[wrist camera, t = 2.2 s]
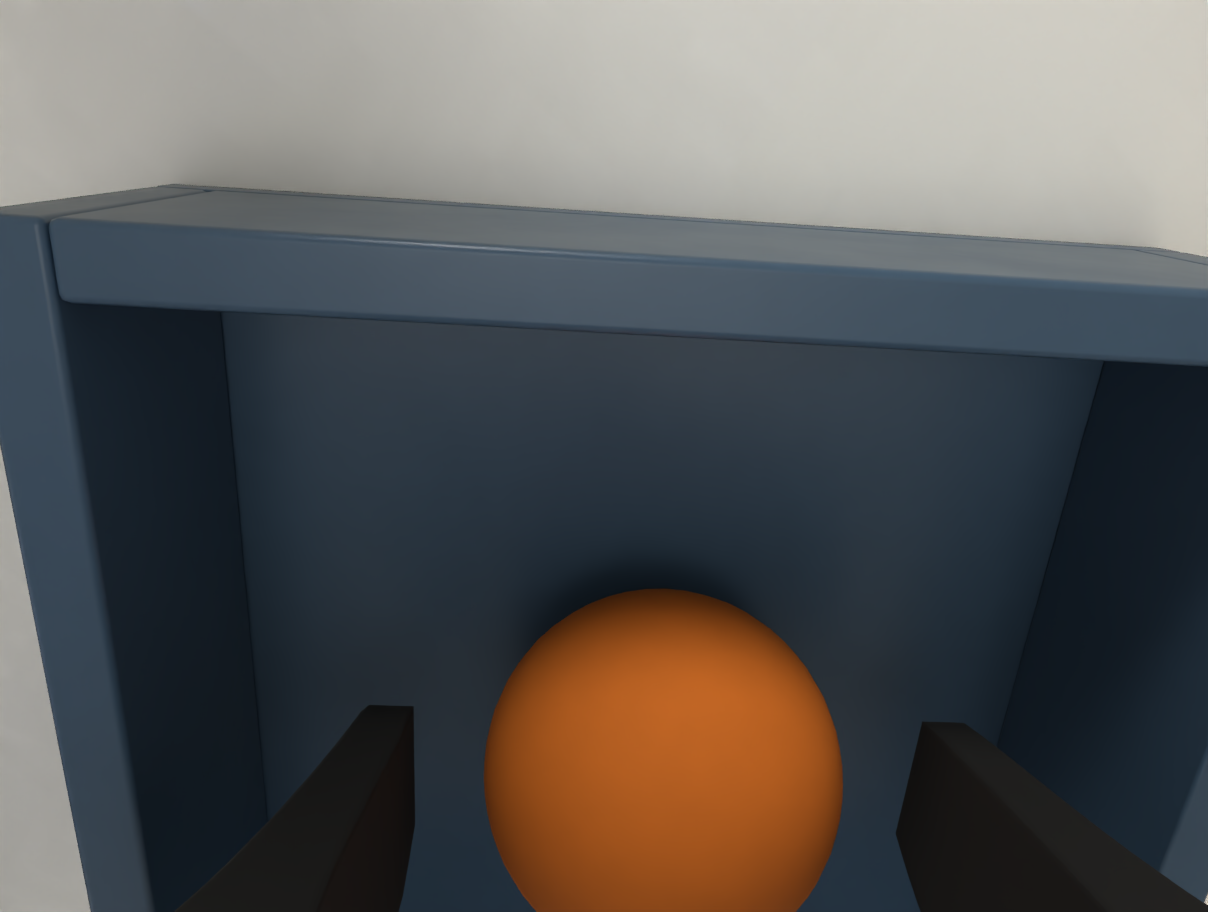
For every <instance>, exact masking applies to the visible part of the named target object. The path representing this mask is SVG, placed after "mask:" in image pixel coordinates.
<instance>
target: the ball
mask: <svg viewBox="0 0 1208 912" xmlns="http://www.w3.org/2000/svg"><path fill="white" fill-rule="evenodd" d="M484 791H485V801H486V807H487V814H488V818H489V823H490V827H491V831H492V834H493V837H494V840H495V843H496V846H497V848H498V851H499V853H500V856H501V858H502V861H503V863H504V865H505V867H506V869H507V870H508V872H509V874H510V875H511V877H512V879H513V880H514V882H515V884H516V885H517V887H518V889H519V890H520V892H521V894H522V895H523V896H524V898H525V899H526V900H527V901H528V902H529V904H530V905H531V906H532V907H533V908H534V909H535V910H536V912H796V911H797V910H798V909H799V907H800V906H801V905H802V904H803V903H804V901H805V900H806V899H807V898H808V896H809V895H810V893H811V892H812V890H813V889H814V887H815V885H816V884H817V882H818V880H819V878H820V876H821V874H822V872H823V870H824V868H825V865H826V863H827V861H828V859H829V857H830V855H831V852H832V848H833V845H834V841H835V838H836V834H837V830H838V826H839V822H840V816H841V808H842V797H843V771H842V760H841V754H840V747H839V743H838V738H837V733H836V729H835V726H834V723H833V720H832V718H831V715H830V712H829V710H828V707H827V704H826V702H825V699H824V697H823V695H822V693H821V692H820V690H819V688H818V686H817V685H816V683H815V681H814V680H813V678H812V676H811V674H810V673H809V671H808V669H807V668H806V666H805V665H804V664H803V663H802V661H801V660H800V659H799V658H798V656H797V655H796V654H795V653H794V652H793V650H792V649H791V648H790V647H789V646H788V645H787V644H786V643H785V642H784V641H783V640H782V639H781V638H780V637H779V636H778V635H777V634H776V633H774V632H773V631H772V630H771V629H770V628H769V627H767V626H766V625H764V624H763V623H761V622H760V621H758V620H757V619H755V618H754V617H752V616H751V615H749V614H748V613H747V612H745V611H743V610H741V609H739V608H737V607H735V606H733V605H731V604H729V603H727V602H724V601H721V600H718V599H715V598H713V597H710V596H706V595H703V594H698V593H694V592H689V591H685V590H675V589H642V590H635V591H627V592H623V593H619V594H615V595H612V596H608V597H605V598H603V599H600V600H597V601H595V602H592V603H590V604H588V605H586V606H584V607H582V608H580V609H578V610H577V611H575V612H573V613H571V614H570V615H568V616H567V617H566V618H564V619H563V620H561V621H560V622H558V623H557V624H555V625H554V626H553V627H551V628H550V629H549V630H548V631H547V632H546V633H545V634H544V635H543V636H541V637H540V638H539V639H538V640H537V641H536V642H535V644H534V645H533V646H532V647H531V648H530V650H529V651H528V652H527V653H526V654H525V656H524V657H523V658H522V659H521V661H520V662H519V663H518V665H517V666H516V668H515V669H514V671H513V673H512V674H511V676H510V677H509V679H508V681H507V683H506V685H505V687H504V690H503V692H502V694H501V696H500V698H499V701H498V703H497V705H496V708H495V710H494V714H493V717H492V721H491V725H490V729H489V733H488V737H487V742H486V750H485V760H484Z"/></svg>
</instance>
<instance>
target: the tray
mask: <svg viewBox="0 0 1208 912" xmlns="http://www.w3.org/2000/svg"><path fill="white" fill-rule="evenodd" d="M0 445H1V450H2V456H3V461H4V466H5V471H6V476H7V481H8V486H9V492H10V497H11V502H12V507H13V512H14V517H15V523H16V528H17V533H18V538H19V543H20V548H21V554H22V559H23V564H24V569H25V574H26V579H27V584H28V590H29V595H30V600H31V605H32V610H33V615H34V621H35V626H36V631H37V636H38V641H39V646H40V652H41V657H42V662H43V667H44V672H45V677H46V683H47V688H48V693H49V698H50V703H51V708H52V713H53V719H54V724H55V729H56V734H57V739H58V744H59V750H60V755H61V760H62V765H63V770H64V775H65V781H66V786H67V791H68V796H69V801H70V806H71V811H72V817H73V822H74V827H75V832H76V837H77V842H78V848H79V853H80V858H81V863H82V868H83V873H84V879H85V884H86V889H87V894H88V899H89V904H90V910H91V912H174V911H175V910H176V909H177V908H179V907H180V906H181V905H182V904H183V903H184V902H186V901H187V900H188V899H189V898H190V897H191V896H192V895H193V894H195V893H196V892H197V891H198V890H199V889H200V888H201V887H202V886H203V885H204V884H206V883H207V882H208V881H209V880H210V879H211V878H212V877H213V876H214V875H215V874H216V873H217V872H218V871H219V870H220V869H222V868H223V867H224V866H225V865H226V864H227V863H228V862H229V861H230V860H231V859H232V858H233V857H234V856H235V855H236V854H237V853H238V852H239V851H240V850H241V849H242V848H243V847H244V846H245V845H246V844H247V843H248V842H249V841H250V839H251V838H252V837H253V836H254V835H255V834H256V833H257V832H258V831H259V830H260V829H261V828H262V827H263V826H264V825H265V824H266V823H267V822H268V821H269V820H270V819H271V818H272V817H273V816H274V815H275V814H276V813H277V812H278V811H279V809H280V808H281V807H282V806H283V805H284V804H285V803H286V802H287V800H288V799H289V798H290V797H291V796H292V795H293V794H294V793H295V791H296V790H297V789H298V788H299V787H300V786H301V785H302V784H303V782H304V781H305V780H306V779H307V778H308V777H309V776H310V775H311V773H312V772H313V771H314V770H315V769H316V767H317V766H318V765H319V764H320V763H321V761H322V760H323V759H324V758H325V757H326V755H327V754H328V753H329V752H330V751H331V749H332V748H333V747H334V746H335V744H336V743H337V742H338V741H339V739H340V738H341V737H342V736H343V734H344V733H345V732H346V730H347V729H348V728H349V727H350V725H351V724H352V723H353V721H354V720H355V719H356V717H357V716H358V715H359V713H360V712H361V711H362V710H363V709H365V708H366V707H367V706H368V705H389V706H414V771H415V828H414V834H413V840H412V846H411V852H410V858H409V864H408V870H407V876H406V881H405V887H404V893H403V898H402V901H401V905H400V908H399V912H536V910H535V909H534V908H533V907H532V906H531V905H530V904H529V902H528V901H527V900H526V899H525V898H524V896H523V895H522V894H521V892H520V890H519V889H518V887H517V885H516V884H515V882H514V880H513V879H512V877H511V875H510V874H509V872H508V870H507V869H506V867H505V865H504V863H503V861H502V858H501V856H500V853H499V851H498V848H497V846H496V843H495V840H494V837H493V834H492V831H491V827H490V823H489V818H488V814H487V807H486V801H485V791H484V760H485V750H486V742H487V737H488V733H489V729H490V725H491V721H492V717H493V714H494V710H495V708H496V705H497V703H498V701H499V698H500V696H501V694H502V692H503V690H504V687H505V685H506V683H507V681H508V679H509V677H510V676H511V674H512V673H513V671H514V669H515V668H516V666H517V665H518V663H519V662H520V661H521V659H522V658H523V657H524V656H525V654H526V653H527V652H528V651H529V650H530V648H531V647H532V646H533V645H534V644H535V642H536V641H537V640H538V639H539V638H540V637H541V636H543V635H544V634H545V633H546V632H547V631H548V630H549V629H550V628H551V627H553V626H554V625H555V624H557V623H558V622H560V621H561V620H563V619H564V618H566V617H567V616H568V615H570V614H571V613H573V612H575V611H577V610H578V609H580V608H582V607H584V606H586V605H588V604H590V603H592V602H595V601H597V600H600V599H603V598H605V597H608V596H612V595H615V594H619V593H623V592H627V591H635V590H642V589H675V590H685V591H689V592H694V593H698V594H703V595H706V596H710V597H713V598H715V599H718V600H721V601H724V602H727V603H729V604H731V605H733V606H735V607H737V608H739V609H741V610H743V611H745V612H747V613H748V614H749V615H751V616H752V617H754V618H755V619H757V620H758V621H760V622H761V623H763V624H764V625H766V626H767V627H769V628H770V629H771V630H772V631H773V632H774V633H776V634H777V635H778V636H779V637H780V638H781V639H782V640H783V641H784V642H785V643H786V644H787V645H788V646H789V647H790V648H791V649H792V650H793V652H794V653H795V654H796V655H797V656H798V658H799V659H800V660H801V661H802V663H803V664H804V665H805V666H806V668H807V669H808V671H809V673H810V674H811V676H812V678H813V680H814V681H815V683H816V685H817V686H818V688H819V690H820V692H821V693H822V695H823V697H824V699H825V702H826V704H827V707H828V710H829V712H830V715H831V718H832V720H833V723H834V726H835V729H836V733H837V738H838V743H839V747H840V754H841V760H842V771H843V797H842V808H841V816H840V822H839V826H838V830H837V834H836V838H835V841H834V845H833V848H832V852H831V855H830V857H829V859H828V861H827V863H826V865H825V868H824V870H823V872H822V874H821V876H820V878H819V880H818V882H817V884H816V885H815V887H814V889H813V890H812V892H811V893H810V895H809V896H808V898H807V899H806V900H805V901H804V903H803V904H802V905H801V906H800V907H799V909H798V910H797V911H796V912H921V911H920V908H919V906H918V903H917V900H916V897H915V894H914V891H913V888H912V885H911V882H910V879H909V876H908V873H907V870H906V867H905V864H904V860H903V857H902V854H901V850H900V847H899V843H898V840H897V837H896V829H897V825H898V821H899V817H900V813H901V808H902V804H903V800H904V796H905V792H906V787H907V783H908V779H909V775H910V771H911V767H912V762H913V758H914V754H915V750H916V746H917V741H918V737H919V733H920V729H921V725H922V721H923V722H956V723H965V724H966V725H968V726H969V727H971V728H972V729H973V730H975V731H976V732H978V733H979V734H980V735H982V736H983V737H984V738H986V739H987V740H988V741H989V742H991V743H992V744H993V745H995V746H996V747H997V748H998V749H1000V750H1001V751H1002V752H1003V753H1005V754H1006V755H1007V756H1009V757H1010V758H1011V759H1012V760H1014V761H1015V762H1016V763H1017V764H1019V765H1020V766H1021V767H1022V768H1024V769H1025V770H1026V771H1027V772H1029V773H1030V774H1031V775H1032V776H1034V777H1035V778H1036V779H1037V780H1039V781H1040V782H1041V783H1042V784H1044V785H1045V786H1046V787H1047V788H1049V789H1050V790H1051V791H1052V792H1054V793H1055V794H1056V795H1057V796H1059V797H1060V798H1061V799H1062V800H1064V801H1065V802H1066V803H1068V804H1069V805H1070V806H1071V807H1073V808H1074V809H1075V810H1077V811H1078V812H1079V813H1080V814H1082V815H1083V816H1084V817H1085V818H1087V819H1088V820H1089V821H1091V822H1092V823H1093V824H1095V825H1096V826H1097V827H1099V828H1100V829H1101V830H1102V831H1104V832H1105V833H1106V834H1108V835H1109V836H1110V837H1112V838H1113V839H1114V840H1116V841H1117V842H1118V843H1120V844H1121V845H1122V846H1124V847H1125V848H1126V849H1128V850H1129V851H1130V852H1132V853H1133V854H1135V855H1136V856H1137V857H1139V858H1140V859H1142V860H1143V861H1144V862H1146V863H1147V864H1149V865H1150V866H1151V867H1153V868H1154V869H1156V870H1157V871H1158V872H1160V873H1161V874H1163V875H1164V876H1165V877H1167V878H1168V879H1170V880H1171V881H1172V882H1174V883H1175V884H1177V885H1178V886H1180V887H1181V888H1182V889H1184V890H1185V891H1187V892H1188V893H1190V894H1191V895H1193V896H1194V897H1196V898H1197V899H1199V900H1200V901H1202V902H1203V903H1204V901H1205V899H1206V896H1207V894H1208V257H1203V256H1198V255H1193V254H1188V253H1180V252H1177V251H1172V250H1166V249H1161V248H1151V247H1136V246H1120V245H1105V244H1089V243H1074V242H1059V241H1043V240H1028V239H1012V238H997V237H982V236H966V235H951V234H935V233H920V232H904V231H889V230H874V229H858V228H843V227H827V226H812V225H797V224H781V223H766V222H750V221H735V220H720V219H704V218H689V217H673V216H658V215H642V214H627V213H612V212H596V211H581V210H565V209H550V208H535V207H519V206H504V205H488V204H473V203H457V202H442V201H427V200H411V199H396V198H380V197H365V196H350V195H334V194H319V193H303V192H288V191H272V190H257V189H242V188H226V187H211V186H195V185H180V184H169V185H162V186H157V187H149V188H141V189H133V190H126V191H118V192H111V193H103V194H96V195H88V196H80V197H73V198H65V199H58V200H50V201H42V202H35V203H27V204H20V205H12V206H5V207H0Z"/></svg>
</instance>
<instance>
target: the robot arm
mask: <svg viewBox="0 0 1208 912" xmlns="http://www.w3.org/2000/svg"><path fill="white" fill-rule="evenodd" d="M414 828H415V771H414V706H389V705H368V706H367V707H366V708H365V709H363V710H362V711H361V712H360V713H359V715H358V716H357V717H356V719H355V720H354V721H353V723H352V724H351V725H350V727H349V728H348V729H347V730H346V732H345V733H344V734H343V736H342V737H341V738H340V739H339V741H338V742H337V743H336V744H335V746H334V747H333V748H332V749H331V751H330V752H329V753H328V754H327V755H326V757H325V758H324V759H323V760H322V761H321V763H320V764H319V765H318V766H317V767H316V769H315V770H314V771H313V772H312V773H311V775H310V776H309V777H308V778H307V779H306V780H305V781H304V782H303V784H302V785H301V786H300V787H299V788H298V789H297V790H296V791H295V793H294V794H293V795H292V796H291V797H290V798H289V799H288V800H287V802H286V803H285V804H284V805H283V806H282V807H281V808H280V809H279V811H278V812H277V813H276V814H275V815H274V816H273V817H272V818H271V819H270V820H269V821H268V822H267V823H266V824H265V825H264V826H263V827H262V828H261V829H260V830H259V831H258V832H257V833H256V834H255V835H254V836H253V837H252V838H251V839H250V841H249V842H248V843H247V844H246V845H245V846H244V847H243V848H242V849H241V850H240V851H239V852H238V853H237V854H236V855H235V856H234V857H233V858H232V859H231V860H230V861H229V862H228V863H227V864H226V865H225V866H224V867H223V868H222V869H220V870H219V871H218V872H217V873H216V874H215V875H214V876H213V877H212V878H211V879H210V880H209V881H208V882H207V883H206V884H204V885H203V886H202V887H201V888H200V889H199V890H198V891H197V892H196V893H195V894H193V895H192V896H191V897H190V898H189V899H188V900H187V901H186V902H184V903H183V904H182V905H181V906H180V907H179V908H177V909H176V910H175V911H174V912H399V908H400V905H401V901H402V898H403V893H404V887H405V881H406V876H407V870H408V864H409V858H410V852H411V846H412V840H413V834H414ZM896 837H897V840H898V843H899V847H900V850H901V854H902V857H903V860H904V864H905V867H906V870H907V873H908V876H909V879H910V882H911V885H912V888H913V891H914V894H915V897H916V900H917V903H918V906H919V908H920V911H921V912H1208V905H1206V904H1205V903H1203V902H1202V901H1200V900H1199V899H1197V898H1196V897H1194V896H1193V895H1191V894H1190V893H1188V892H1187V891H1185V890H1184V889H1182V888H1181V887H1180V886H1178V885H1177V884H1175V883H1174V882H1172V881H1171V880H1170V879H1168V878H1167V877H1165V876H1164V875H1163V874H1161V873H1160V872H1158V871H1157V870H1156V869H1154V868H1153V867H1151V866H1150V865H1149V864H1147V863H1146V862H1144V861H1143V860H1142V859H1140V858H1139V857H1137V856H1136V855H1135V854H1133V853H1132V852H1130V851H1129V850H1128V849H1126V848H1125V847H1124V846H1122V845H1121V844H1120V843H1118V842H1117V841H1116V840H1114V839H1113V838H1112V837H1110V836H1109V835H1108V834H1106V833H1105V832H1104V831H1102V830H1101V829H1100V828H1099V827H1097V826H1096V825H1095V824H1093V823H1092V822H1091V821H1089V820H1088V819H1087V818H1085V817H1084V816H1083V815H1082V814H1080V813H1079V812H1078V811H1077V810H1075V809H1074V808H1073V807H1071V806H1070V805H1069V804H1068V803H1066V802H1065V801H1064V800H1062V799H1061V798H1060V797H1059V796H1057V795H1056V794H1055V793H1054V792H1052V791H1051V790H1050V789H1049V788H1047V787H1046V786H1045V785H1044V784H1042V783H1041V782H1040V781H1039V780H1037V779H1036V778H1035V777H1034V776H1032V775H1031V774H1030V773H1029V772H1027V771H1026V770H1025V769H1024V768H1022V767H1021V766H1020V765H1019V764H1017V763H1016V762H1015V761H1014V760H1012V759H1011V758H1010V757H1009V756H1007V755H1006V754H1005V753H1003V752H1002V751H1001V750H1000V749H998V748H997V747H996V746H995V745H993V744H992V743H991V742H989V741H988V740H987V739H986V738H984V737H983V736H982V735H980V734H979V733H978V732H976V731H975V730H973V729H972V728H971V727H969V726H968V725H966V724H965V723H956V722H923V721H922V725H921V729H920V733H919V737H918V741H917V746H916V750H915V754H914V758H913V762H912V767H911V771H910V775H909V779H908V783H907V787H906V792H905V796H904V800H903V804H902V808H901V813H900V817H899V821H898V825H897V829H896Z"/></svg>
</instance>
